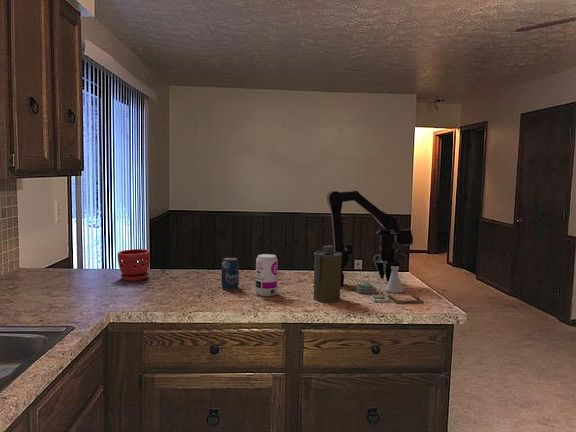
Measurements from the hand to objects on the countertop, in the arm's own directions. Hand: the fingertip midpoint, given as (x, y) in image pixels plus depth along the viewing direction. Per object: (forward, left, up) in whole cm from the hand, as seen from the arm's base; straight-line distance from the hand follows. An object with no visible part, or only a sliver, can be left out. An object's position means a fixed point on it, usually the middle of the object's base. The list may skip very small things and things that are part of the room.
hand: (385, 281), depth 206 cm
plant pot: (-107, +13, -2) cm, 108 cm away
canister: (-30, -22, -2) cm, 37 cm away
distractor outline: (-10, -24, -2) cm, 26 cm away
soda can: (-66, -4, -2) cm, 66 cm away
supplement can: (-52, -14, -2) cm, 54 cm away
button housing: (-12, -11, -2) cm, 16 cm away
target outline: (0, -24, -2) cm, 24 cm away
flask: (0, -11, -2) cm, 11 cm away
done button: (-12, -11, 0) cm, 16 cm away
